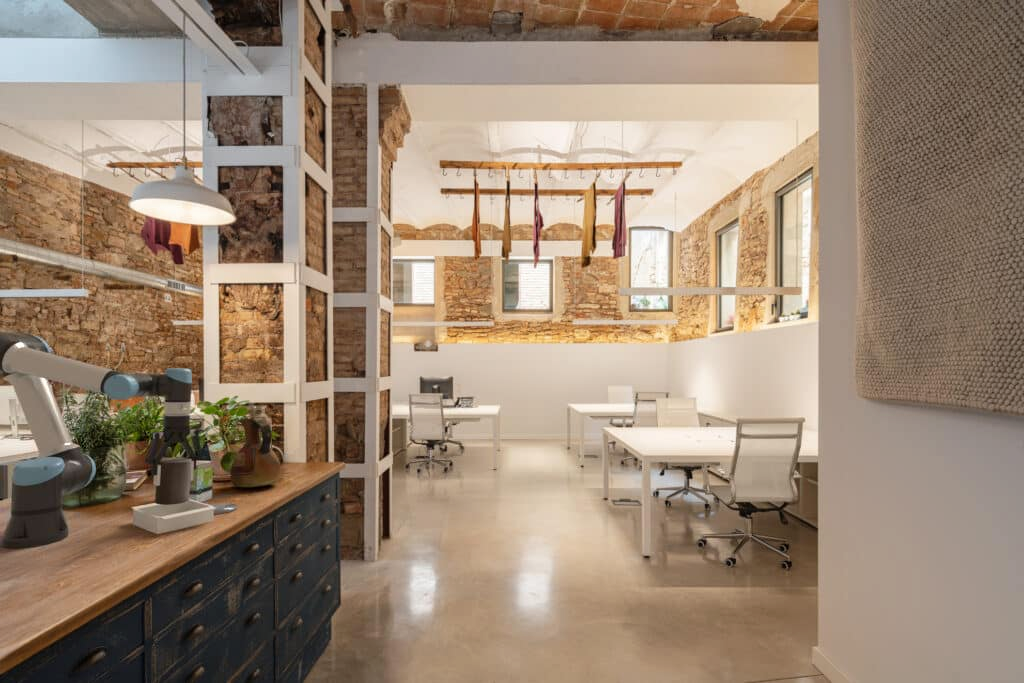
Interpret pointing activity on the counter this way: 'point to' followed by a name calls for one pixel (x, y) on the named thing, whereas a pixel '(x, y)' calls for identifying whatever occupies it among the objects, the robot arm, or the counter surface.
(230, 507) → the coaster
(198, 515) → the white rectangular tray
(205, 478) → the tea box
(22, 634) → the counter surface
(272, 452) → the ceramic pitcher
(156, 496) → the pillar candle
